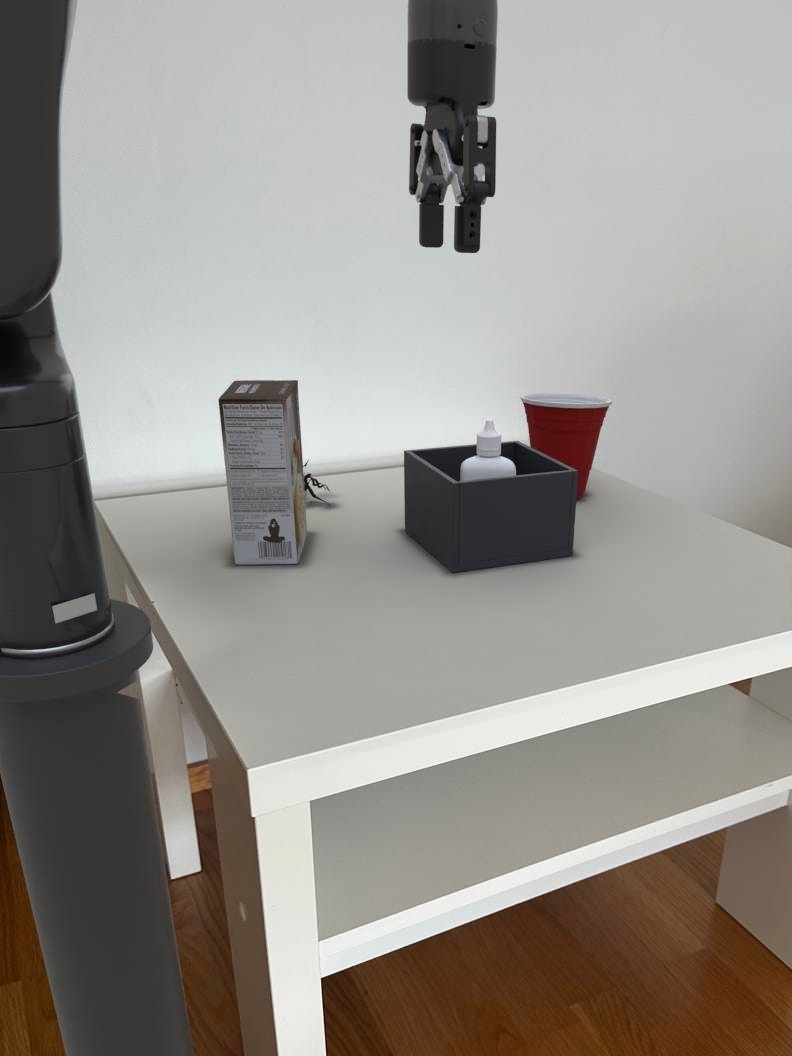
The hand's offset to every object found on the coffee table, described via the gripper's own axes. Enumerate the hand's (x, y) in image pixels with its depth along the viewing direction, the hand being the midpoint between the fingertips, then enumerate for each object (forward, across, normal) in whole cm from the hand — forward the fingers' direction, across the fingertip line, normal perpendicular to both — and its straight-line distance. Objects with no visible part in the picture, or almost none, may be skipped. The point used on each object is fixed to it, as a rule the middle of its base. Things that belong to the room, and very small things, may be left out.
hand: (448, 249), depth 85 cm
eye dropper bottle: (+28, +2, +4) cm, 28 cm away
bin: (+28, +2, +4) cm, 29 cm away
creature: (+28, -19, -10) cm, 36 cm away
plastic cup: (+28, -12, +20) cm, 36 cm away
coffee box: (+29, -4, -17) cm, 33 cm away
